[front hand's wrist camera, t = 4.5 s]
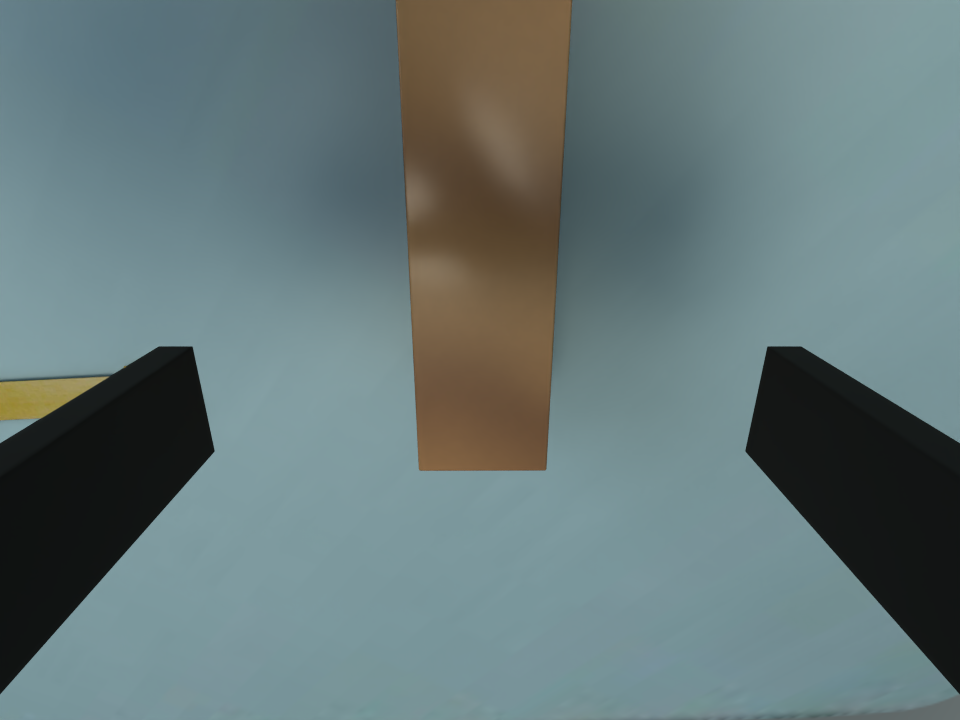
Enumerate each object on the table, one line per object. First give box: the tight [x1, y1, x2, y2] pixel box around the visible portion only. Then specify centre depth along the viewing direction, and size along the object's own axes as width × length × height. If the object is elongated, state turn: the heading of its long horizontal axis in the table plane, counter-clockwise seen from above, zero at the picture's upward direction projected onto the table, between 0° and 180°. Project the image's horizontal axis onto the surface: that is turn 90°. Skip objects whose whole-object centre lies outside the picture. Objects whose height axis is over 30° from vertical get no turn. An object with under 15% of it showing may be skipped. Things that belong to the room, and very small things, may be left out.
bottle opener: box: [0, 366, 126, 420], centre depth 29 cm, size 5×1×20 cm
